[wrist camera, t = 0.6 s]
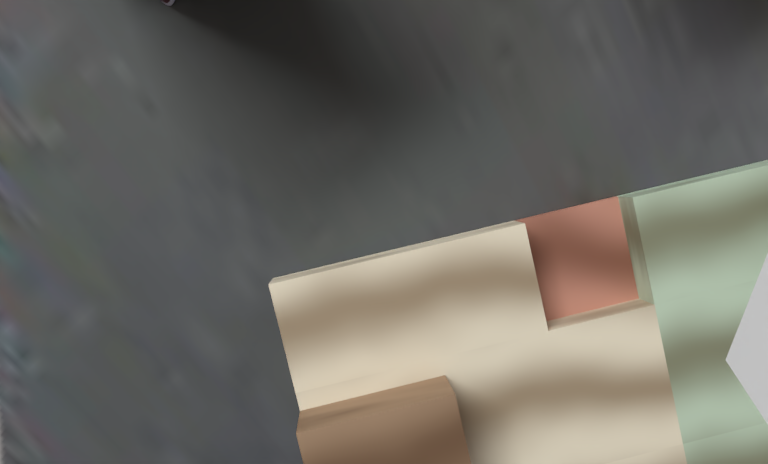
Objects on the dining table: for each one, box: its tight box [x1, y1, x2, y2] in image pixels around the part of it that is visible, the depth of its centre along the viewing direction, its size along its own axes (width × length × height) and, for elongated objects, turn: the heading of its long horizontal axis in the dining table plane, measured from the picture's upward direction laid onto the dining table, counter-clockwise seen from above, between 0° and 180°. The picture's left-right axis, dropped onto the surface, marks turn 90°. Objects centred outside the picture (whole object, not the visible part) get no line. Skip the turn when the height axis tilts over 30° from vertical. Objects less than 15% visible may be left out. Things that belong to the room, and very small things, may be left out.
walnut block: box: [296, 375, 471, 464], centre depth 38 cm, size 6×8×4 cm
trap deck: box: [269, 160, 768, 464], centre depth 40 cm, size 20×30×6 cm, turn 103°
